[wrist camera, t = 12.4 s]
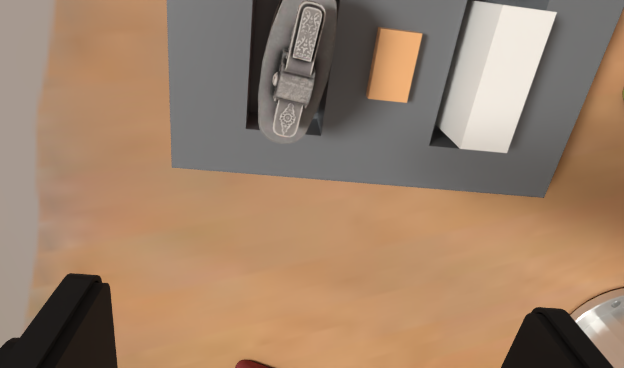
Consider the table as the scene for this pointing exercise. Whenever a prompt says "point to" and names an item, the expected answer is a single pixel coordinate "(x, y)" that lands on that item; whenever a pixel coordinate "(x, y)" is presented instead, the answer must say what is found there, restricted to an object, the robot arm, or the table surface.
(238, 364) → the pliers
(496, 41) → the seated plug
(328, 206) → the table surface
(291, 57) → the lighter
